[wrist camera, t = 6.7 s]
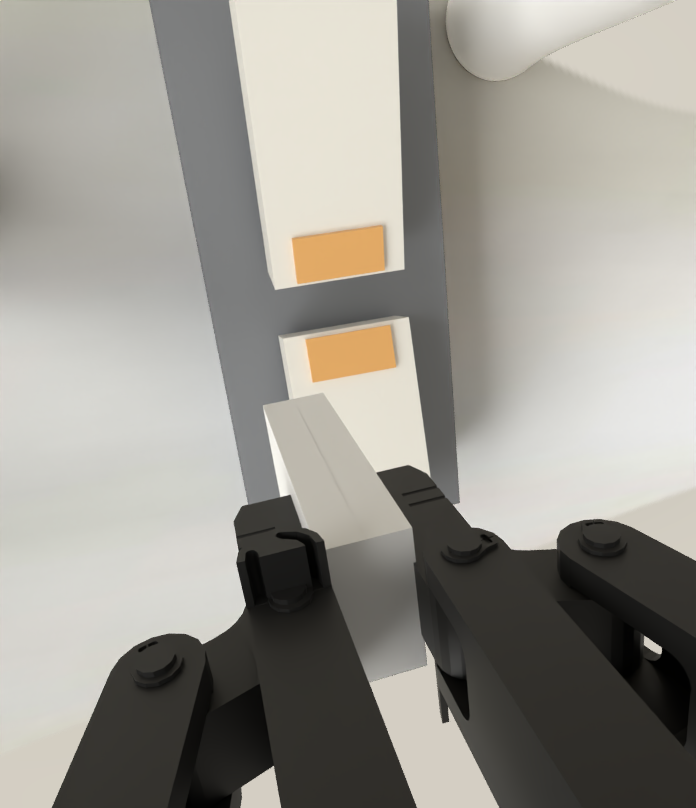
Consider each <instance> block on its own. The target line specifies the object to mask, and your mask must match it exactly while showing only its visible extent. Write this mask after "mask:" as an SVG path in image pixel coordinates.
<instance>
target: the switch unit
mask: <svg viewBox="0 0 696 808" xmlns="http://www.w3.org/2000/svg"><path fill="white" fill-rule="evenodd" d="M149 2H150V7H151V12H152V17H153V22H154V27H155V32H156V38H157V43H158V48H159V53H160V58H161V63H162V68H163V73H164V78H165V83H166V88H167V94H168V99H169V104H170V109H171V114H172V119H173V124H174V129H175V134H176V139H177V144H178V149H179V155H180V160H181V165H182V170H183V175H184V180H185V185H186V190H187V195H188V200H189V205H190V211H191V216H192V221H193V226H194V231H195V236H196V241H197V246H198V251H199V256H200V261H201V266H202V272H203V277H204V282H205V287H206V292H207V297H208V302H209V307H210V312H211V317H212V322H213V328H214V333H215V338H216V343H217V348H218V353H219V358H220V363H221V368H222V373H223V378H224V383H225V389H226V394H227V399H228V404H229V409H230V414H231V419H232V424H233V429H234V434H235V439H236V444H237V450H238V455H239V460H240V465H241V470H242V475H243V480H244V485H245V490H246V495H247V500H248V505H249V504H253V503H258V502H262V501H266V500H270V499H274V498H279V497H280V493H279V487H278V482H277V477H276V472H275V467H274V461H273V456H272V451H271V446H270V441H269V435H268V430H267V425H266V420H265V415H264V409H263V405H267V404H272V403H276V402H281V401H286V400H289V394H288V389H287V383H286V377H285V372H284V366H283V360H282V354H281V349H280V343H279V337H278V336H279V335H284V334H290V333H296V332H302V331H308V330H314V329H320V328H325V327H331V326H337V325H343V324H349V323H355V322H361V321H367V320H372V319H378V318H384V317H390V316H403V317H409V323H410V330H411V338H412V345H413V352H414V360H415V367H416V374H417V382H418V389H419V396H420V404H421V411H422V418H423V426H424V433H425V440H426V448H427V455H428V462H429V469H430V477H431V479H432V480H433V481H434V483H435V484H436V485H437V488H439V489H440V490H441V491H442V492H443V494H444V495H445V498H447V499H448V500H449V501H450V502H451V503H452V504H457V503H460V501H459V485H458V469H457V453H456V436H455V420H454V404H453V388H452V372H451V356H450V340H449V324H448V308H447V291H446V275H445V259H444V243H443V227H442V211H441V195H440V179H439V163H438V146H437V130H436V114H435V98H434V82H433V66H432V50H431V34H430V18H429V1H428V0H397V26H398V61H399V96H400V131H401V166H402V201H403V236H404V270H397V271H391V272H385V273H378V274H372V275H366V276H360V277H353V278H347V279H341V280H334V281H328V282H322V283H316V284H309V285H303V286H297V287H291V288H284V289H278V290H275V288H274V286H273V283H272V281H271V278H270V276H269V273H268V269H267V262H266V255H265V248H264V241H263V234H262V227H261V220H260V213H259V207H258V200H257V193H256V186H255V179H254V172H253V165H252V158H251V151H250V144H249V137H248V130H247V123H246V116H245V110H244V103H243V96H242V89H241V82H240V75H239V68H238V61H237V54H236V47H235V40H234V33H233V26H232V19H231V13H230V6H229V0H149Z"/></svg>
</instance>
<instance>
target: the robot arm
mask: <svg viewBox="0 0 696 808" xmlns="http://www.w3.org/2000/svg"><path fill="white" fill-rule="evenodd" d="M263 409H264V415H265V420H266V425H267V430H268V435H269V441H270V446H271V451H272V456H273V461H274V467H275V472H276V477H277V482H278V487H279V493H280V497H279V498H274V499H270V500H266V501H262V502H258V503H253V504H249V505H245V506H242V507H241V509H240V511H239V512H238V514H237V516H236V518H235V520H234V526H235V532H236V538H237V544H238V549H239V552H238V557H237V562H236V564H237V568H238V572H239V577H240V581H241V585H242V590H243V594H244V598H245V603H246V607H245V609H244V612H243V614H242V615H241V617H240V618H239V619H238V621H237V622H236V623H235V624H234V625H233V626H232V627H230V628H229V629H228V630H227V631H226V632H224V633H222V634H221V635H219V636H218V637H216V638H214V639H212V640H210V641H208V642H207V643H205V644H203V645H202V644H201V643H200V641H199V640H198V639H196V638H194V637H191V636H189V635H187V634H166V635H161V636H157V637H153V638H150V639H148V640H146V641H144V642H142V643H140V644H138V645H136V646H134V647H133V648H132V649H131V650H129V651H128V652H127V653H126V654H125V655H123V656H122V657H121V658H120V659H119V660H118V662H117V663H116V665H115V666H114V668H113V669H112V671H111V672H110V675H109V677H108V679H107V682H106V684H105V686H104V688H103V691H102V693H101V695H100V698H99V700H98V702H97V705H96V707H95V709H94V712H93V714H92V716H91V718H90V721H89V723H88V725H87V728H86V730H85V732H84V735H83V737H82V739H81V742H80V744H79V746H78V749H77V751H76V753H75V755H74V758H73V760H72V762H71V765H70V767H69V769H68V772H67V774H66V776H65V779H64V781H63V783H62V785H61V788H60V790H59V792H58V795H57V797H56V799H55V802H54V804H53V806H52V808H240V806H241V800H242V795H241V794H242V793H241V787H242V786H243V785H245V784H246V783H248V782H249V781H251V780H252V779H254V778H256V777H257V776H259V775H260V774H262V773H263V772H265V771H266V770H268V769H269V768H271V767H272V766H274V769H275V774H276V780H277V786H278V792H279V797H280V803H281V808H417V807H416V804H415V801H414V799H413V796H412V794H411V791H410V788H409V786H408V783H407V781H406V778H405V775H404V773H403V770H402V768H401V765H400V762H399V760H398V757H397V755H396V752H395V750H394V747H393V744H392V742H391V739H390V737H389V734H388V731H387V728H386V726H385V723H384V721H383V718H382V715H381V713H380V710H379V708H378V705H377V703H376V700H375V697H374V695H373V692H372V689H371V687H370V684H369V682H372V681H376V680H379V679H382V678H386V677H389V676H393V675H396V674H399V673H403V672H406V671H409V670H412V669H416V668H419V667H423V666H426V665H427V658H426V649H425V642H426V644H427V646H428V648H429V649H430V651H431V653H432V655H433V657H434V659H435V667H436V677H437V687H438V697H439V706H440V713H441V718H442V723H446V722H449V716H448V707H449V709H450V711H451V713H452V714H453V717H454V719H455V721H456V722H457V725H458V727H459V728H460V730H461V732H462V734H463V736H464V739H465V740H466V742H467V744H468V746H469V748H470V750H471V752H472V754H473V756H474V758H475V760H476V762H477V764H478V766H479V768H480V770H481V772H482V774H483V776H484V778H485V780H486V782H487V784H488V786H489V788H490V790H491V792H492V794H493V796H494V798H495V800H496V802H497V804H498V806H499V808H696V561H695V560H693V559H691V558H689V557H687V556H685V555H683V554H682V553H680V552H678V551H676V550H674V549H672V548H670V547H668V546H666V545H664V544H662V543H661V542H659V541H657V540H655V539H653V538H651V537H649V536H647V535H645V534H643V533H641V532H640V531H638V530H636V529H634V528H632V527H629V526H627V525H624V524H621V523H619V522H615V521H608V520H602V519H593V520H583V521H579V522H576V523H572V524H569V525H568V526H567V527H565V528H564V529H563V530H561V531H560V533H559V536H558V538H557V549H551V550H530V551H526V550H511V549H510V548H509V547H508V545H507V544H506V543H505V542H504V541H503V540H502V539H501V538H499V537H498V536H497V535H495V534H494V533H492V532H489V531H486V530H483V529H480V528H471V526H470V525H469V524H468V523H467V522H466V520H465V519H464V518H463V517H462V516H461V514H460V513H459V512H458V511H457V509H456V508H455V507H454V506H453V505H452V503H451V502H450V501H449V500H448V499H447V498H445V495H444V494H443V492H442V491H441V490H440V489H439V488H437V485H436V484H435V483H434V481H433V480H432V479H431V478H430V477H429V475H428V474H427V473H425V472H423V471H421V470H419V469H417V468H414V467H412V466H410V465H406V466H402V467H397V468H393V469H389V470H385V471H380V472H375V470H374V469H373V467H372V466H371V464H370V463H369V461H368V460H367V458H366V457H365V455H364V454H363V452H362V451H361V449H360V448H359V446H358V445H357V443H356V442H355V440H354V439H353V437H352V436H351V434H350V433H349V431H348V430H347V428H346V426H345V425H344V423H343V422H342V420H341V419H340V417H339V416H338V414H337V413H336V411H335V410H334V408H333V407H332V405H331V404H330V402H329V401H328V399H327V398H326V396H325V395H324V393H319V394H314V395H309V396H305V397H300V398H295V399H291V400H286V401H281V402H276V403H272V404H267V405H263ZM644 636H646V637H648V638H649V639H650V640H652V641H653V642H655V643H656V644H658V645H659V646H661V647H662V654H657V653H655V652H653V651H651V650H650V649H649V648H647V647H646V646H644Z"/></svg>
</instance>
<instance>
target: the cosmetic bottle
mask: <svg viewBox="0 0 696 808" xmlns="http://www.w3.org/2000/svg"><path fill="white" fill-rule="evenodd" d="M674 1H676V0H449V1H448V5H447V11H446V29H447V36H448V40H449V43H450V46H451V49H452V51H453V53H454V55H455V56H456V58H457V60H458V61H459V62H460V63H461V65H462V66H463V67H464V68H465V69H466V70H467V71H469V72H470V73H471V74H473V75H475V76H477V77H479V78H482V79H484V80H489V81H503V80H507V79H511V78H513V77H515V76H517V75H519V74H521V73H522V72H524V71H525V70H527V69H528V68H529V67H530V66H532V65H533V64H535V63H536V62H538V61H539V60H541V59H543V58H544V57H546V56H548V55H550V54H551V53H553V52H555V51H557V50H559V49H561V48H564V47H566V46H568V45H570V44H572V43H575V42H577V41H579V40H581V39H584V38H586V37H589V36H591V35H593V34H596V33H598V32H601V31H603V30H606V29H608V28H611V27H613V26H615V25H618V24H620V23H623V22H625V21H628V20H630V19H633V18H635V17H638V16H640V15H642V14H645V13H647V12H650V11H652V10H655V9H657V8H659V7H662V6H664V5H667V4H669V3H671V2H674Z"/></svg>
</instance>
